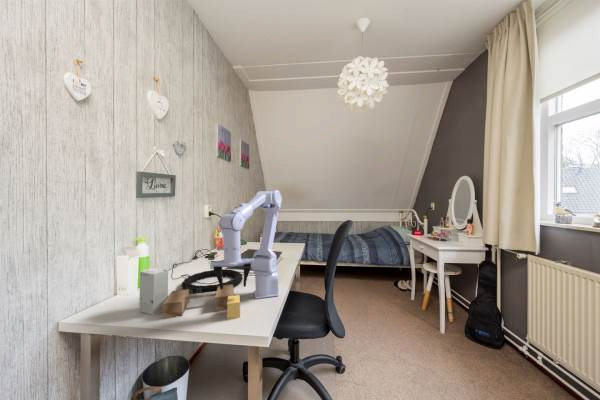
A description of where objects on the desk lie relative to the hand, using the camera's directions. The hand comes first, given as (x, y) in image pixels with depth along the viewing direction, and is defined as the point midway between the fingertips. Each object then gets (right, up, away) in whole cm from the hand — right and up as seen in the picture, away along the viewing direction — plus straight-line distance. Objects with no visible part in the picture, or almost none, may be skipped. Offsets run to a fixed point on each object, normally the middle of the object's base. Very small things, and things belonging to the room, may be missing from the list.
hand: (233, 287), depth 82 cm
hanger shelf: (-14, -10, +7) cm, 18 cm away
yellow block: (0, -9, 0) cm, 9 cm away
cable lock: (-19, -11, +30) cm, 37 cm away
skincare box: (-30, -10, +4) cm, 32 cm away
